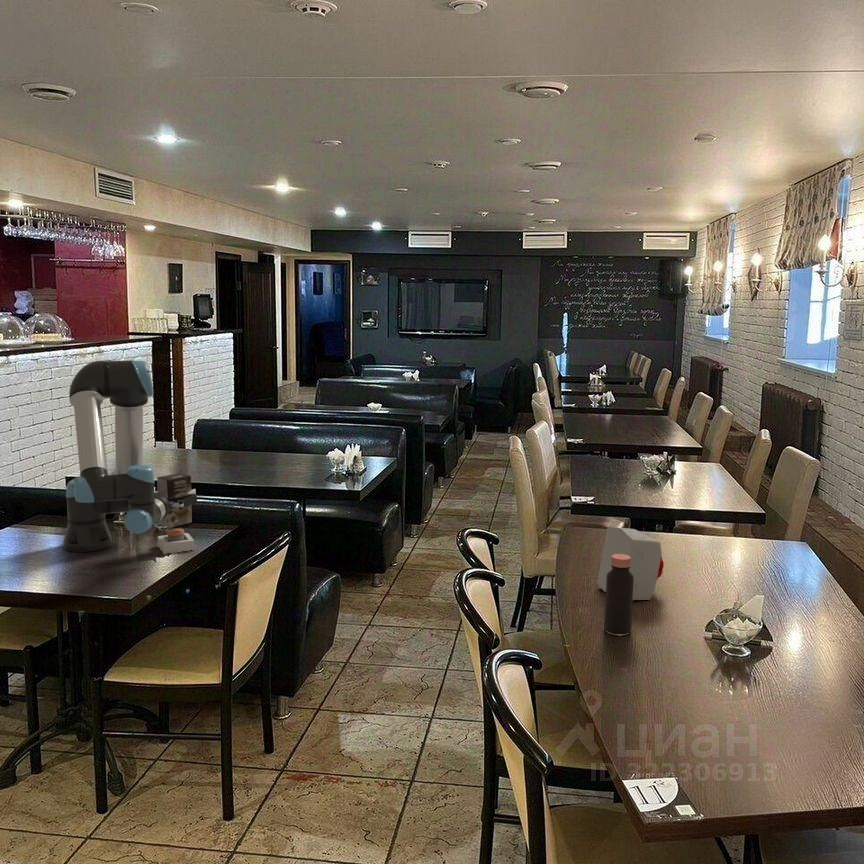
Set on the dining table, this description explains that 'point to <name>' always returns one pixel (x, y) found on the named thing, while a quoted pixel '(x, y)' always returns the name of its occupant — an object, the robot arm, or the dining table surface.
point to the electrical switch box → (633, 559)
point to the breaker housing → (175, 544)
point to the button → (175, 535)
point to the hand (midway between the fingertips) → (178, 492)
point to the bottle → (619, 595)
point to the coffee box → (175, 488)
